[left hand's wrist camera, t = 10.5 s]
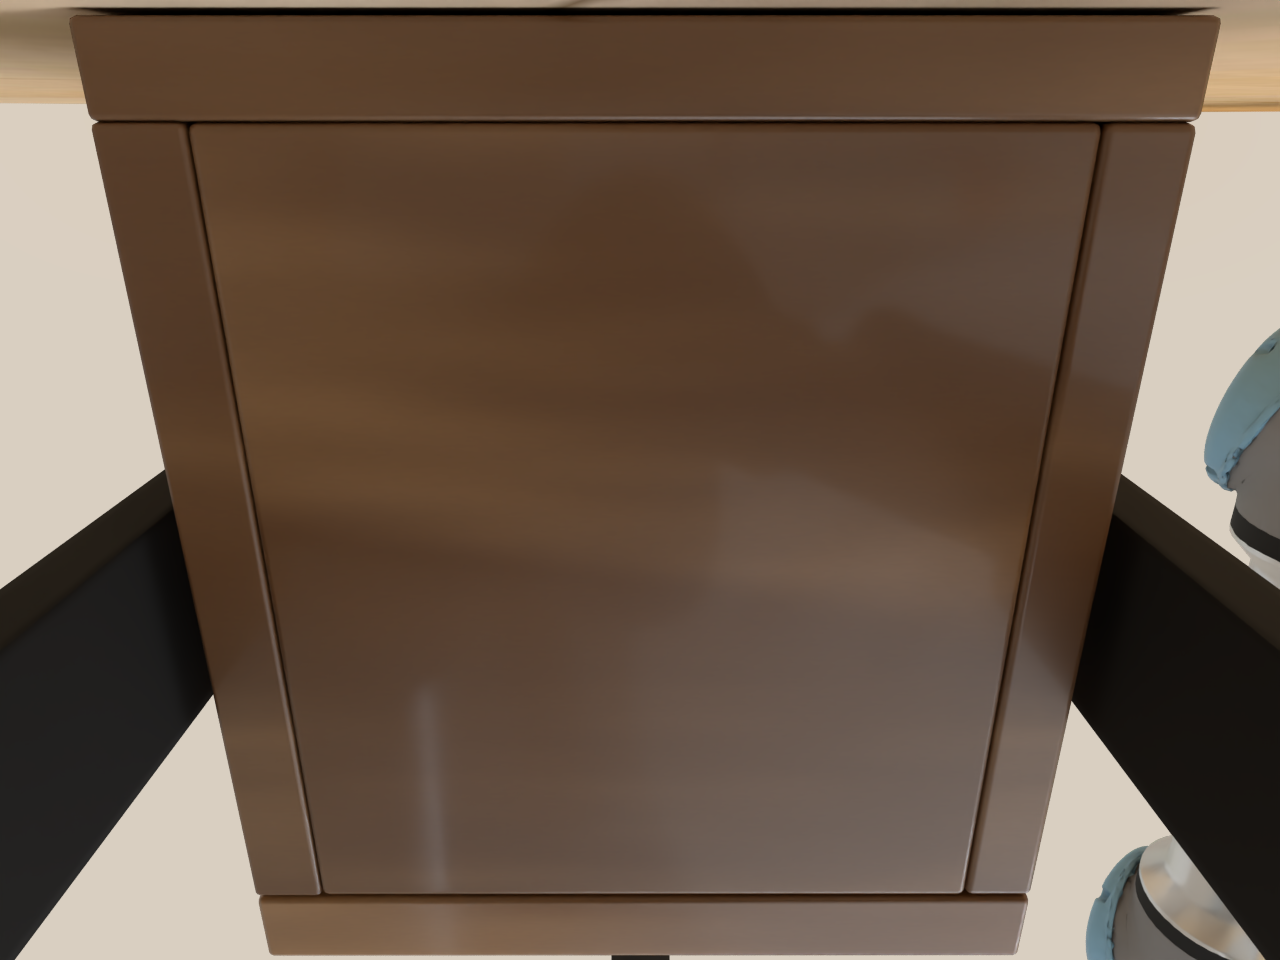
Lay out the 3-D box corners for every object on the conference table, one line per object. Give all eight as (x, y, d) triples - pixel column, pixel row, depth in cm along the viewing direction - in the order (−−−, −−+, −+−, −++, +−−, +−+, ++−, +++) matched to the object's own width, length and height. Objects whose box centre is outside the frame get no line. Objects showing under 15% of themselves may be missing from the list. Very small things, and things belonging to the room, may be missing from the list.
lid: (820, 481, 26) (801, 716, 29) (461, 482, 26) (480, 716, 29) (1031, 899, 12) (951, 1264, 15) (255, 900, 12) (334, 1265, 15)
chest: (862, 80, 21) (827, 493, 25) (420, 81, 21) (454, 493, 25) (1226, 14, 8) (1032, 896, 12) (64, 13, 8) (254, 897, 12)
